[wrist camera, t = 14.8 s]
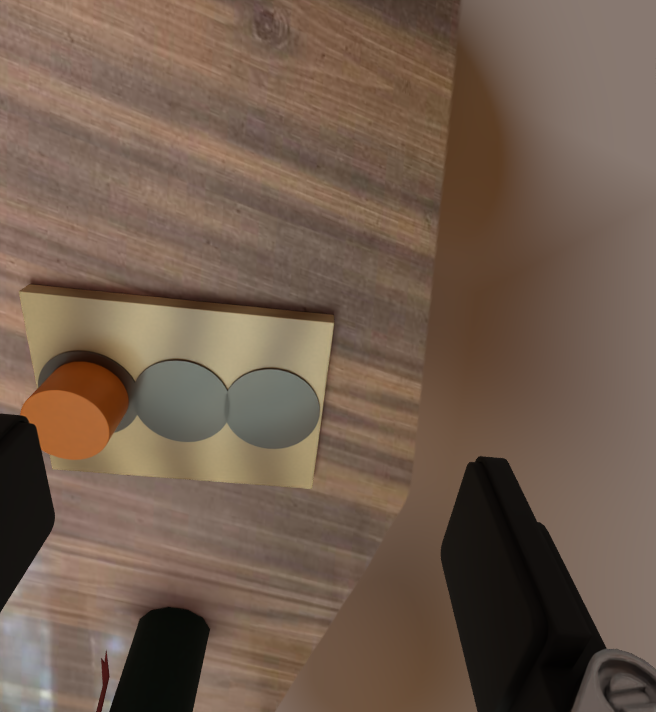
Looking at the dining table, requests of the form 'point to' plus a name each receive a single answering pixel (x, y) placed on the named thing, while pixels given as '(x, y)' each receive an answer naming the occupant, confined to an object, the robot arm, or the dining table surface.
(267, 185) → the dining table surface
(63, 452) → the cylinder
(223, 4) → the dining table surface
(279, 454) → the board
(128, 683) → the wine bottle
